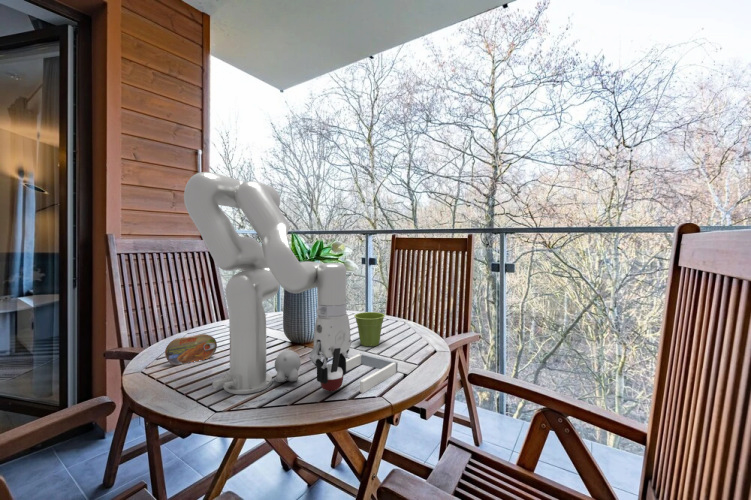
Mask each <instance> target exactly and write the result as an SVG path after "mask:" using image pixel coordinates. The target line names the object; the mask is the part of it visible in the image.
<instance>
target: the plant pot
mask: <svg viewBox="0 0 751 500" xmlns="http://www.w3.org/2000/svg"><path fill="white" fill-rule="evenodd" d="M353 317H354V318H355V321H356V325H357V331H358V337H359V343H360V345H361V346H363V347H376V346H379V344H380V341H381V335H382V334H381V333H382V327H383V323H384V318H385V317H386V315H385V314H384V313H382V312H375V311H366V312H358V313H355V314H354V315H353Z"/></svg>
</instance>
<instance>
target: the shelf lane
mask: <svg viewBox="0 0 751 500" xmlns="http://www.w3.org/2000/svg"><path fill="white" fill-rule="evenodd" d="M360 365H364V366H369V367H372V368H375V369H379V370H377V371H376V372H374V373H372V374H369V375H368V376H366V377H364V378H363V379H361V380H360V381H359V392H360V393H362V394H365V392H367V391H369V390H371V389H372V388H374V387H376V386H377V385H378V384H381V383H382V382H383V381H385V380H387V379H388V378H390V377H391V376H393V375H394V374H397V373H398V365H399V364H398V362H397V361H394V360H389V359H386V358H381V357H377V356H373V355H369V354H365V353H359V354H356V355H354V356H352V357H350V358H347V359H346V372H348V371H350V370H352V369H354V368H356V367H358V366H360Z"/></svg>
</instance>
